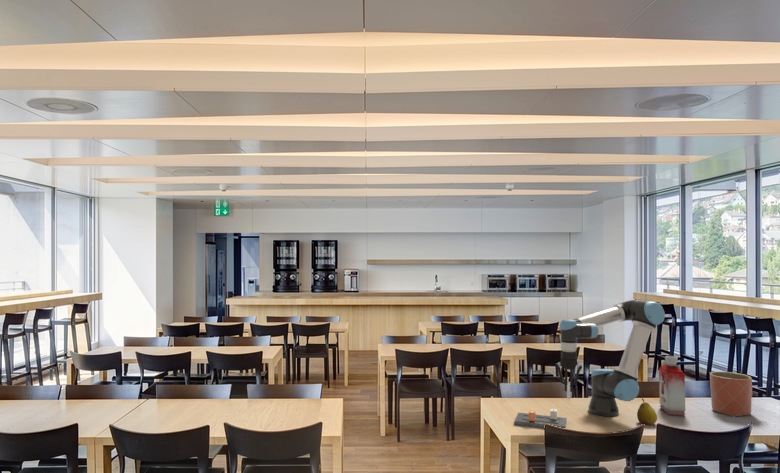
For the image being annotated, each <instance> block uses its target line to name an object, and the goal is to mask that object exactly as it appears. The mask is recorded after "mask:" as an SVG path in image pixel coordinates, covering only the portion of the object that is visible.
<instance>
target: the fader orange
mask: <svg viewBox="0 0 780 473" xmlns="http://www.w3.org/2000/svg"><path fill="white" fill-rule="evenodd" d="M528 414H529V421H535V420H536V415H537V412H536V410H529V411H528Z"/></svg>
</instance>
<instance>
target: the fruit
mask: <svg viewBox="0 0 780 473" xmlns="http://www.w3.org/2000/svg"><path fill="white" fill-rule="evenodd" d="M641 400H642V401H643V402H641V404H640V405H639V407H638V409H637V413H636V418H637V420H638V422H639V423H640V424H642V423H644V424H643V425H648V426H653V425H655V424H656V423H657V421H658V415H657V412H656V410H655V408H653V407H652V405H651V404H649V402H645V399H644V398H643V397H642V398H641Z"/></svg>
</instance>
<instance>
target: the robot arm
mask: <svg viewBox="0 0 780 473" xmlns="http://www.w3.org/2000/svg"><path fill="white" fill-rule="evenodd" d="M665 315H666V313H665V310H664V308H663V306H662V305H661V304H660V303H659V302H656V301H652V300H642V299H641V300H640V299H630V300H627V301H624V302H623V301H622V302H619V303H617V304H614V305H612V307H610V308H607V309H603V310H601V311H597V312H594V313H590V314H587V315H583V316H580V317H577V318H573V319H568V318H567V319H566V318H565V319H562V320H561V321H560V323H559V330H560V359H559V361H558V362H557V363H555V367H556V369H557V372H558V376H559V381H560V383H561V384H563V385H564V392H566V399H567V400H570V399H571V393H573V391H574V389H573V388H574V386H576V385H577V384H578V380H579V375H580V372H581V370H582V368H583V365H581V364H579V363H578V360H577V359H578V358H577V354H578V353H577V344H578V343H577V342H578V339H595V338H597V337H598V335H599V327H602V326H605V325H608V324H612V323H615V322H618V323H619V322H626V321H631V324H632V325H633V326H632V328H631V332H630V333H629V337H628V339H627V342H626V345H625V348H624V350H623V353H622V356H621V359H620V362H619V366H618V367H617V368H615V369H612V368H611V369H610V368H596V369H592V371H591V376H590V380H591V398H590V401H589V404H588V412H589V413H591V414H593V415H596V416H603V417H615V416H619V414H620V413H619V412H620V410H619V406H618V404H617V400H619V401H623V402H631V401H633V400H635V399H636V398H637V396H638V395H639V392H640V387H639V382H637V381H638V376H637V372H638V370H639V366H640V364H641V360H642V358H643V355H644V352H645V349H646V346H647V343H648V341H649V337H650V335H651V332H652V331H653V332H654V331H655V330H656V328H657V326H659V325H661V324H663V322H664V320H665ZM561 366H562V368H563V369H564V377H563V373H562V369H561ZM575 368H577V370H576V373H575V377H574V376H573V374H574V370H575ZM568 370H569V376H570V377H569V384H568ZM573 380H574V381H573ZM616 399H617V400H616Z"/></svg>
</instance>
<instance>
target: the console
mask: <svg viewBox="0 0 780 473" xmlns="http://www.w3.org/2000/svg"><path fill="white" fill-rule="evenodd" d="M567 420H568V419H567V417H563V416H562V417H561V416H557V420H555V419H550V415H546V414H544V415H543V414H536V420H535V421H529V413H526V412H518V413H517V415H516V417H515V419H514V426H518V427H519V426H520V427H521V426H522V427H527V428H528V427H530V428H538V429H544V425H545V424H550V425H553V426H557V427H561V428H566V429H567V422H568V421H567Z"/></svg>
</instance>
